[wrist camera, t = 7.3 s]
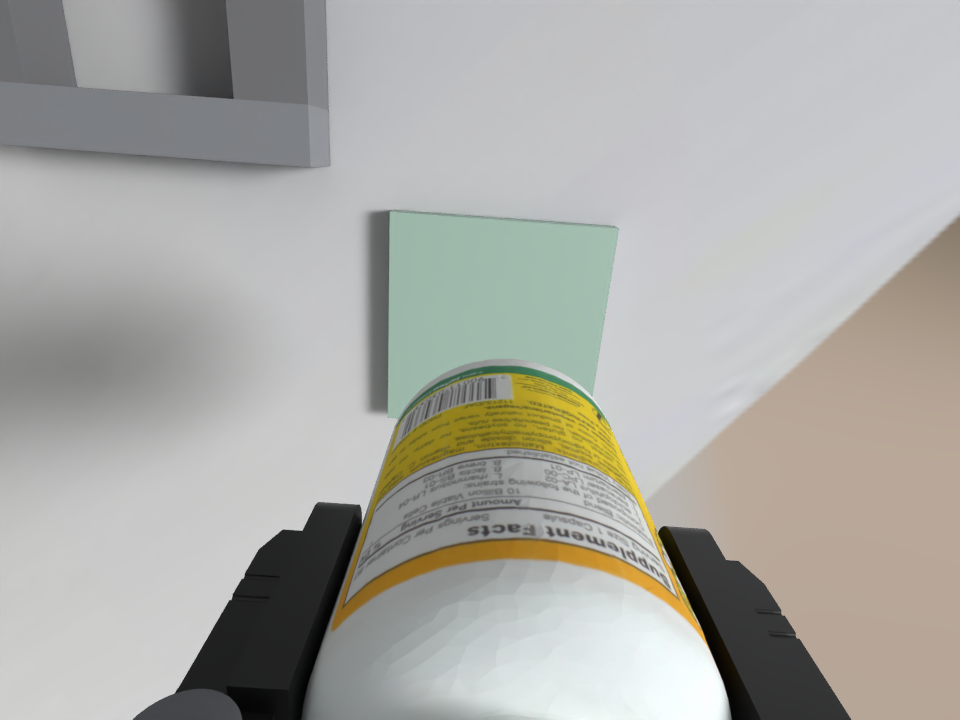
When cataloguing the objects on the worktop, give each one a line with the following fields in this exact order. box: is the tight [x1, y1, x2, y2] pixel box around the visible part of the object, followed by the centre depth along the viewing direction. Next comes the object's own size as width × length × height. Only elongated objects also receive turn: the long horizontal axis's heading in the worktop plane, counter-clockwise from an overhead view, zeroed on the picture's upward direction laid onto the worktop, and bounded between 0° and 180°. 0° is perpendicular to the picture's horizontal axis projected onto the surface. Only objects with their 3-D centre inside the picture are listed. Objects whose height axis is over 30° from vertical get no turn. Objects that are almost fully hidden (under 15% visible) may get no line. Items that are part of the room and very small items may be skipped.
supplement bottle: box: [301, 359, 732, 720], centre depth 9 cm, size 5×5×10 cm
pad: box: [388, 210, 619, 419], centre depth 23 cm, size 9×9×1 cm
